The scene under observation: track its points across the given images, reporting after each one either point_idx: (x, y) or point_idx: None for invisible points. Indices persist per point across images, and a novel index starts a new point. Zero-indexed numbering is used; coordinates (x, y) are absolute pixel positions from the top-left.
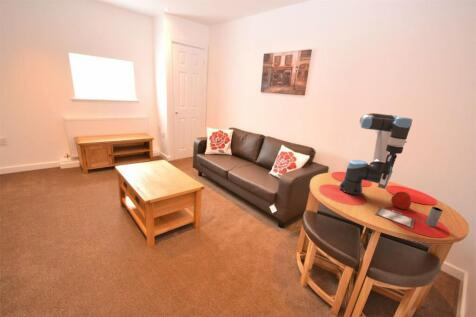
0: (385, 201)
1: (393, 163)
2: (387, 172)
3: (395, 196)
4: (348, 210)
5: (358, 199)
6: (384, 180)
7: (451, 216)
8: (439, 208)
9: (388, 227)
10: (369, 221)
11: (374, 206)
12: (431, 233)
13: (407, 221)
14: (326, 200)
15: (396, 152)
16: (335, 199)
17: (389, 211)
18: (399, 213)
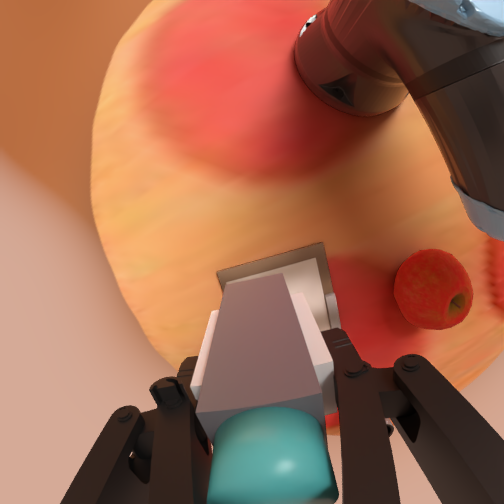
0: (413, 223)
1: (442, 500)
2: (133, 467)
3: (425, 277)
4: (122, 193)
5: (294, 138)
6: None
7: (467, 374)
8: (390, 434)
9: (172, 344)
10: (134, 290)
11: (302, 225)
12: None
13: None
14: (108, 89)
15: None
16: (159, 91)
17: (314, 291)
18: (331, 323)
